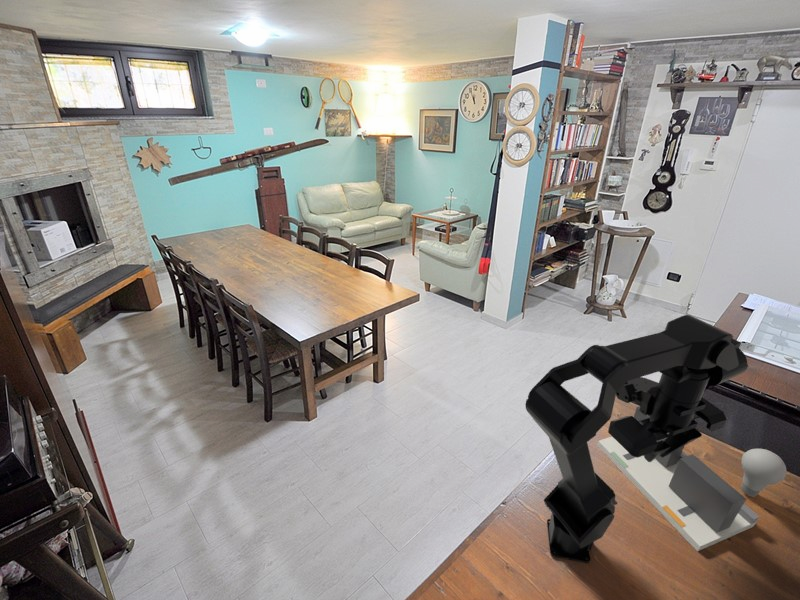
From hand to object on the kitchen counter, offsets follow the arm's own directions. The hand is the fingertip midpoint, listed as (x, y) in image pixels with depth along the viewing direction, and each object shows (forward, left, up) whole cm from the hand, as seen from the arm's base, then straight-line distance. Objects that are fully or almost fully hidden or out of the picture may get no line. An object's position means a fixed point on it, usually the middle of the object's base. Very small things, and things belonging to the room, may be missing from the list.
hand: (654, 457), depth 69 cm
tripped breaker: (+10, 0, -11) cm, 15 cm away
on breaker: (+6, +13, -11) cm, 18 cm away
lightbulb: (+21, +6, -13) cm, 26 cm away
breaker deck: (+7, +6, -13) cm, 16 cm away
